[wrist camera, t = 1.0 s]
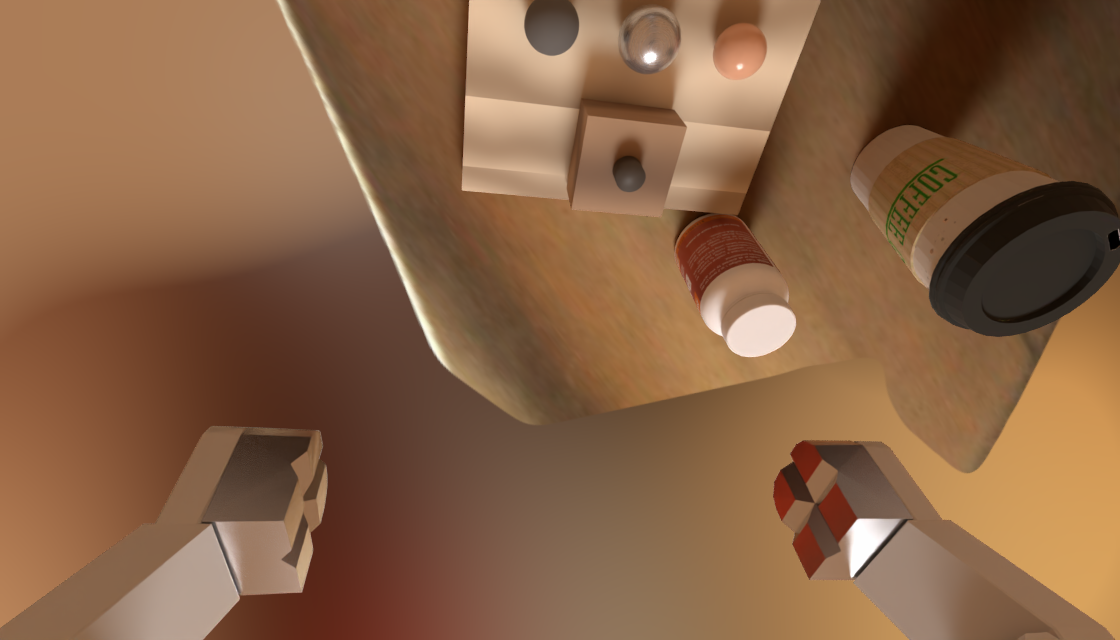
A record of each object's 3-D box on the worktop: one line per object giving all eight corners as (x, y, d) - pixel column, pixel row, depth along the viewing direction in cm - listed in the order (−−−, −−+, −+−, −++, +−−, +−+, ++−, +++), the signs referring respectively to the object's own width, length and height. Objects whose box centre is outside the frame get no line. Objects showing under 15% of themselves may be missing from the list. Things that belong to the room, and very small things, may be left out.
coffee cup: (805, 161, 41) (927, 277, 30) (938, 68, 38) (1133, 159, 26) (853, 243, 47) (972, 369, 35) (973, 168, 43) (1149, 280, 32)
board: (478, -210, 27) (477, -216, 25) (847, -133, 30) (872, -133, 28) (463, 174, 39) (461, 190, 38) (726, 199, 43) (737, 215, 41)
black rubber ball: (525, -15, 30) (528, -6, 28) (579, -7, 31) (587, 3, 28) (520, 44, 32) (522, 58, 30) (571, 51, 33) (577, 65, 30)
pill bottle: (657, 251, 45) (695, 342, 37) (712, 195, 42) (768, 279, 34) (707, 286, 48) (754, 378, 40) (763, 235, 45) (826, 322, 37)
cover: (581, 98, 34) (590, 123, 31) (674, 109, 35) (692, 134, 32) (566, 188, 38) (573, 218, 35) (650, 195, 39) (665, 226, 36)
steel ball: (620, -6, 31) (632, 6, 28) (679, 3, 32) (697, 16, 29) (607, 60, 33) (617, 78, 30) (663, 68, 34) (678, 86, 31)
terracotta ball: (715, 14, 32) (732, 25, 30) (763, 21, 33) (784, 33, 30) (699, 68, 34) (715, 83, 32) (745, 74, 34) (763, 90, 32)
